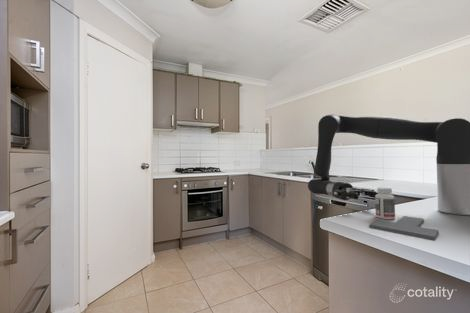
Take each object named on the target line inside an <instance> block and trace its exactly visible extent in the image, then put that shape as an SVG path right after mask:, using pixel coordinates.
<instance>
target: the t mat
mask: <svg viewBox="0 0 470 313" xmlns="http://www.w3.org/2000/svg"><path fill="white" fill-rule="evenodd" d="M424 222H425V218H421V217H413V216H408V215H403V216H402V217H400V218H399V219H398V220H397V221H395V222H394V221H388V220H383V219H382V220H381V219H376V220H374V221H373V222H370V223H369V225H368V226H369V228H372V229H377V230H380V231H381V230H382V231H387V232H391V233H398V234H403V235H408V236H413V237H417V238H423V239H427V240H433V241H435V240H436V239H437V237H438V235H439V234H440V233H439V232H440V230H439V229H434V228H428V227H422V226H421V225H422V224H423V223H424Z"/></svg>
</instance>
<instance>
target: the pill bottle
mask: <svg viewBox="0 0 470 313" xmlns="http://www.w3.org/2000/svg"><path fill="white" fill-rule="evenodd" d="M376 192H378V194H376V195H375V198H374V200H375V202H374V203H375V205H374V206H375V209H374V210H375V217H376V218H379V219H380V220H381V219H382V220H394V219H396V207H395V206H396V204H395V203H396V202H395V196H394V195H393V194H392V192H393V191H392V188H391V187H377V191H376Z"/></svg>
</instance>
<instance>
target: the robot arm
mask: <svg viewBox="0 0 470 313" xmlns="http://www.w3.org/2000/svg"><path fill="white" fill-rule="evenodd" d="M317 124H318V126H317V127H318V130H317V132H318V133H317V134H318V135H317V136H318V137H317V138H318V141H317V149H316V150H317V152H316V158H315V164H314V167H313V169H314V170H313V173H314V174H315V175H316V176H318V177H320V178H313V179H310V180H309V181H308V183H307V188H308V190H309V191H310V192H311V193H312V194H316V195H317V194H318V195H326V196H329V197H332V198H335V199H338V200H342V201H349V200H351V199H353V200H359V198H361V199H362V198H366V197H367V198H372V199H375V195H376V194H378V191H375V189H370V188H369V189H368V188H361V187H360V188H359V187H354V186H353V185H352V184H351V183H350V182H345V181H338V180H330V169H331V163H332V146H333V142H334V139H335V138H334V137H335V135H336V134H354V135H359V136H363V137H366V138H370V139H371V138H372V139H381V140H394V141H395V140H396V141H404V140H405V141H408V140H409V141H421V142H422V141H424V142H431V143H436V145H437V147H436V148H437V149H436V150H437V151H436V157H435V158H436V185H437V186H436V187H437V189H436V190H437V210H438V212H441V213H447V214H453V215H461V216H462V215H463V216H470V121H469V120H467V119H464V118H460V117H453V118H449V119H446V120H444V121H418V120H413V119H407V118H402V117H394V116H359V117H357V116H356V117H355V116H344V115H338V114H334V113H333V114H327V115H323V116H322V117H321V118H320V119H319V120H318V123H317Z"/></svg>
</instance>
